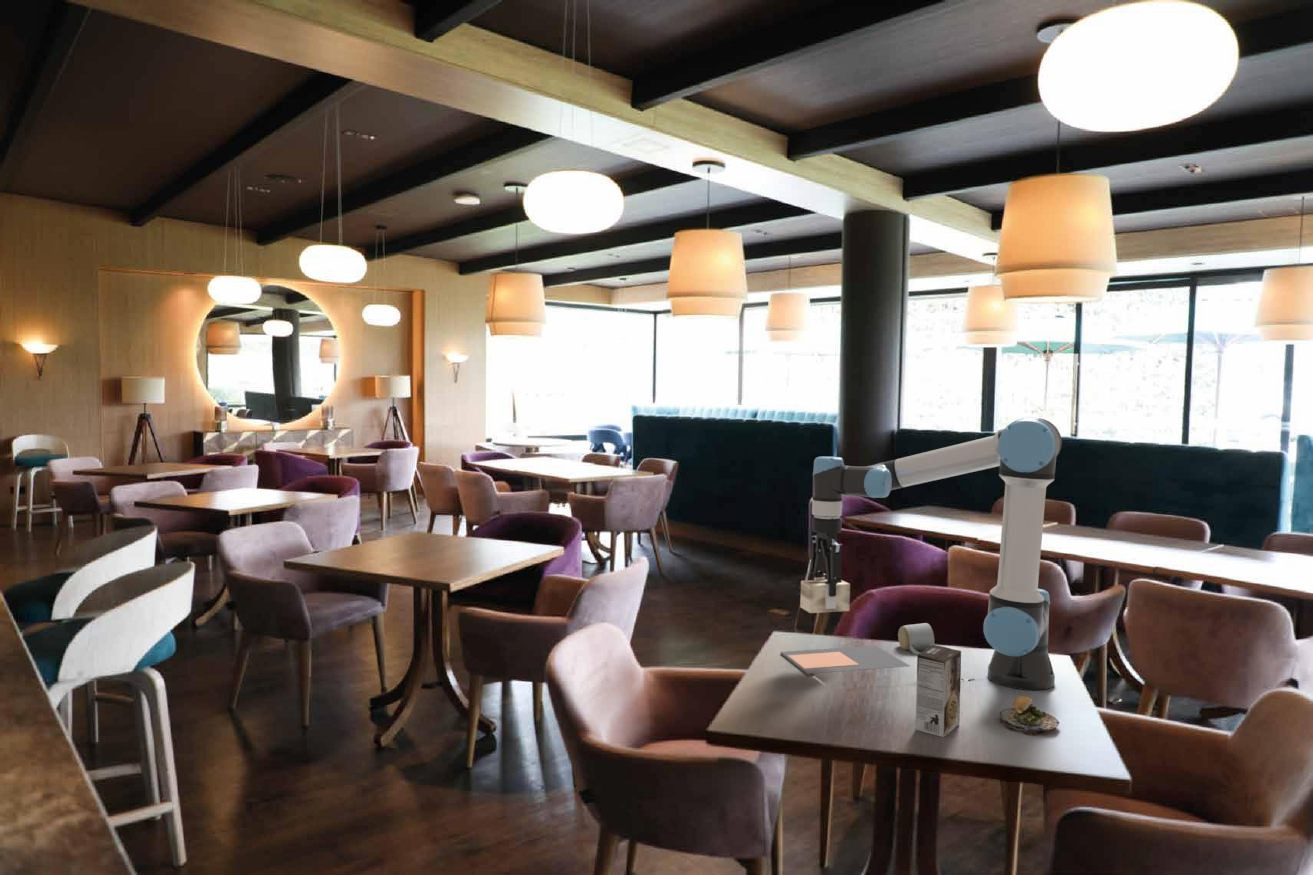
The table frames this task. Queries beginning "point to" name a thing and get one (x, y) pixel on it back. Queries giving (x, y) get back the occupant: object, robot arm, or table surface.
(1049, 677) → the robot arm
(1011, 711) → the plate of food
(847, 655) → the mat
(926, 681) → the coffee box
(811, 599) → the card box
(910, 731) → the table surface
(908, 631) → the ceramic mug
